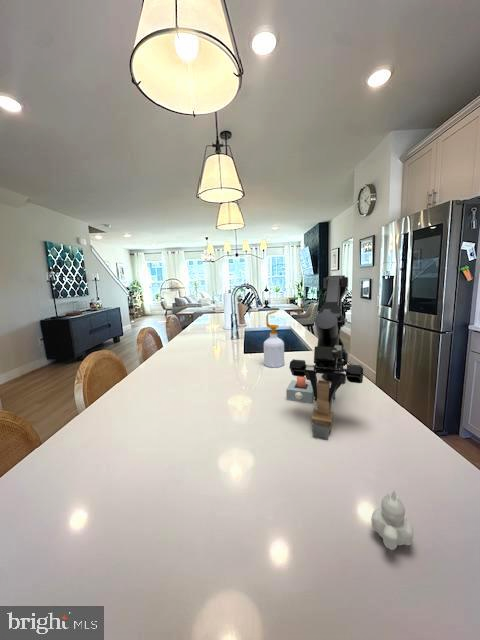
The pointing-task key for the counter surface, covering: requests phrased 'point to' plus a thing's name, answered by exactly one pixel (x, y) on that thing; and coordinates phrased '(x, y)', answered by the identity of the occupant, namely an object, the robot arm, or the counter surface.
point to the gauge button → (301, 382)
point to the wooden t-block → (323, 405)
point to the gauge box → (300, 392)
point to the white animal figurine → (392, 522)
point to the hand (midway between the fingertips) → (322, 401)
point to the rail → (322, 427)
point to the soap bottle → (273, 347)
